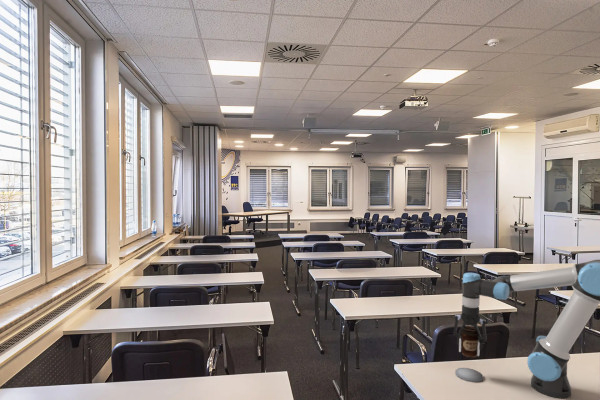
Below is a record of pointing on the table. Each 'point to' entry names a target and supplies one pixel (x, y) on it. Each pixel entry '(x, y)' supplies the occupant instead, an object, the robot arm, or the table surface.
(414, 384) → the table surface
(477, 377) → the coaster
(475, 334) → the coffee cup
